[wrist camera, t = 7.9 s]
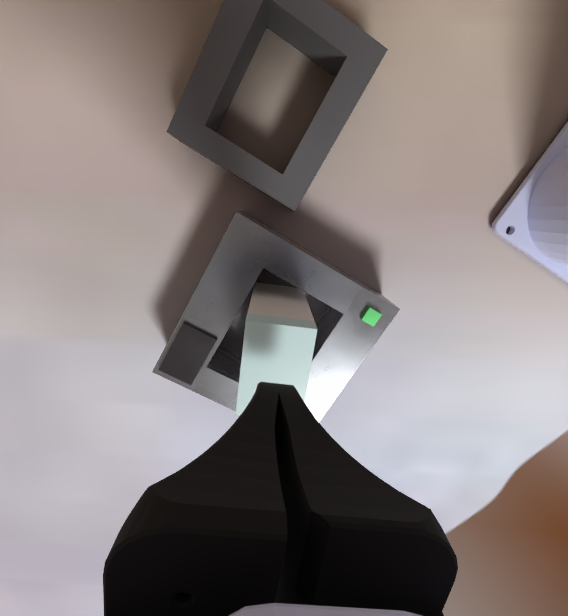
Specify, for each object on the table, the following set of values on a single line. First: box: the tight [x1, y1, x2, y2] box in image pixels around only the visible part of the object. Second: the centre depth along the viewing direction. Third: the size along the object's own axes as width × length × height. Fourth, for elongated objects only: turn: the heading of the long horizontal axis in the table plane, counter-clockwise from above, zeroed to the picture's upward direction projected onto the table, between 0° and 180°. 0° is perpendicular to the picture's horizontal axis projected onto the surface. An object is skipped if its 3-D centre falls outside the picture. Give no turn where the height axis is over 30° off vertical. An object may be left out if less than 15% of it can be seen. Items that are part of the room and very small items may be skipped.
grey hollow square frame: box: [167, 0, 388, 211], centre depth 16 cm, size 7×8×2 cm
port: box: [153, 211, 400, 422], centre depth 19 cm, size 10×10×3 cm
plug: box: [236, 283, 317, 415], centre depth 17 cm, size 3×4×7 cm, turn 172°
